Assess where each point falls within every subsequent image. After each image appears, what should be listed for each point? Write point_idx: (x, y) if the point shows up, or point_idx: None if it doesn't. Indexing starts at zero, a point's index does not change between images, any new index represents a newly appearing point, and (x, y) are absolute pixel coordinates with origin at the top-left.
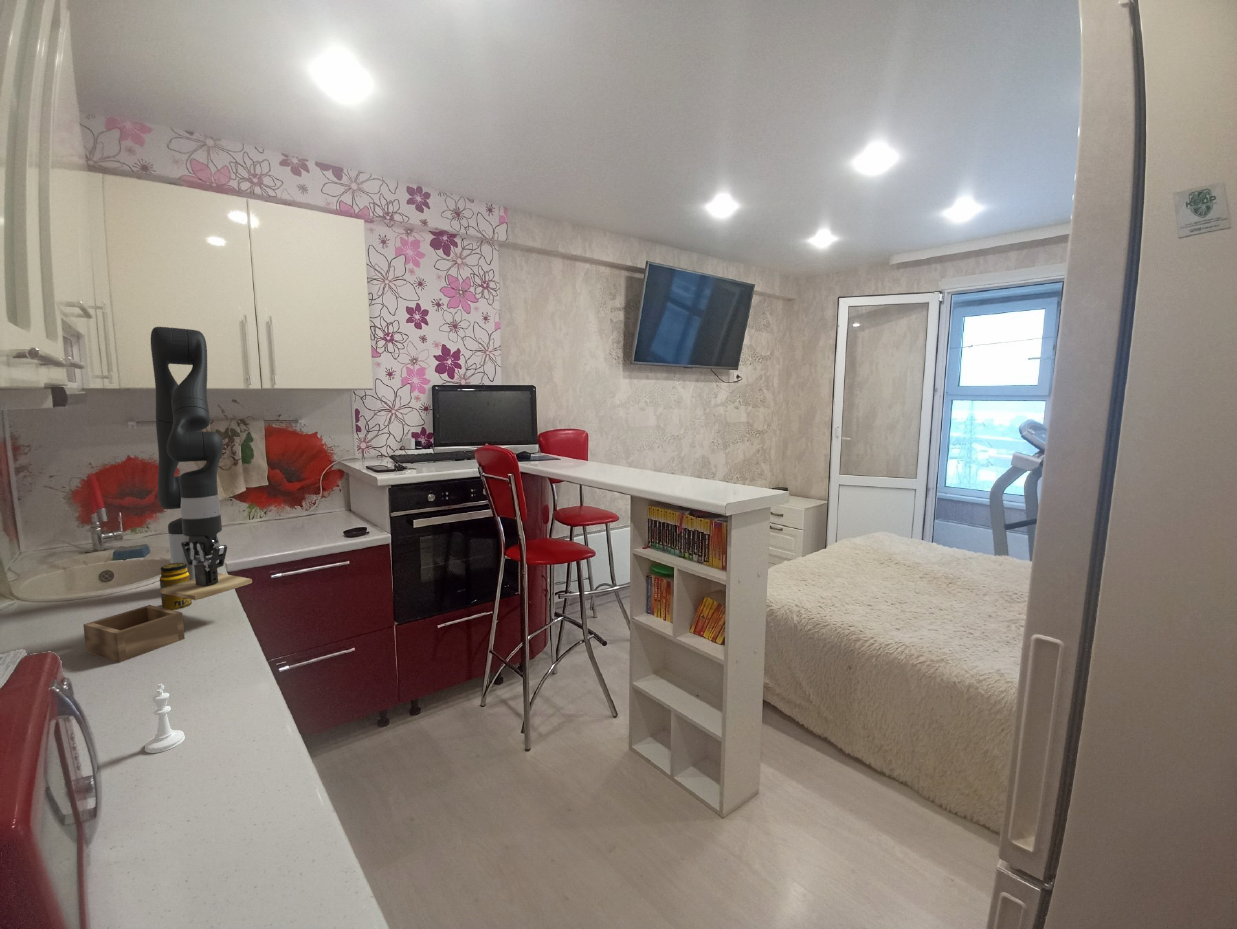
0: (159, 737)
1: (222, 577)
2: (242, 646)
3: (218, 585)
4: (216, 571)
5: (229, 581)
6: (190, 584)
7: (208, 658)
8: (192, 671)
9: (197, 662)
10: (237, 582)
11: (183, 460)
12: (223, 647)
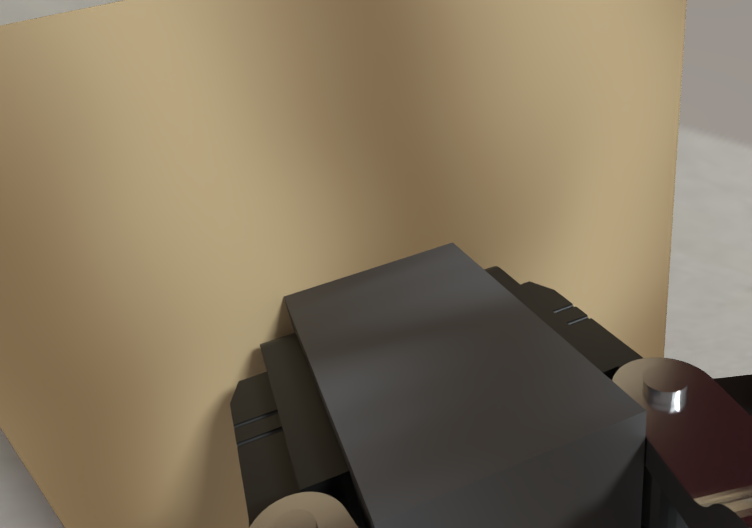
0: None
1: (241, 129)
2: (742, 179)
3: (561, 270)
4: (636, 359)
5: (530, 137)
6: None
7: (712, 306)
8: (747, 362)
9: (704, 340)
10: (653, 88)
11: None
12: (678, 239)
